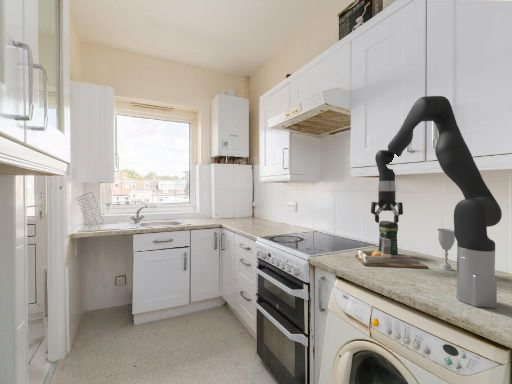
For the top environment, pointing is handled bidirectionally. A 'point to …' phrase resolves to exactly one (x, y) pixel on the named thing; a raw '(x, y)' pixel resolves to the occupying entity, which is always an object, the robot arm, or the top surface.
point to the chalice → (446, 245)
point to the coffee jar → (388, 235)
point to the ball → (376, 254)
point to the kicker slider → (386, 249)
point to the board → (388, 261)
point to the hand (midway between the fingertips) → (386, 222)
